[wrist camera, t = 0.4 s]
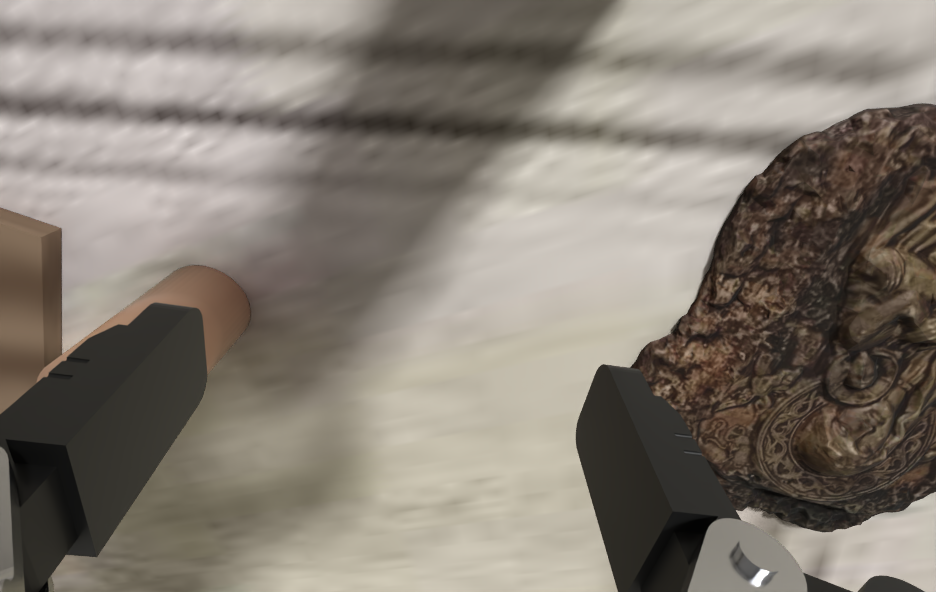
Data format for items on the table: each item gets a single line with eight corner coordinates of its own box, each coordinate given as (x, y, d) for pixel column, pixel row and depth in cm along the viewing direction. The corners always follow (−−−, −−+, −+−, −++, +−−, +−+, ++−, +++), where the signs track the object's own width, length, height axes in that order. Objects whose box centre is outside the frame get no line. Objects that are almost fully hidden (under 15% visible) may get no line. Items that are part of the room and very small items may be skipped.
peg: (167, 252, 30) (34, 341, 22) (257, 283, 31) (165, 381, 22) (159, 325, 33) (37, 431, 24) (243, 352, 34) (154, 465, 25)
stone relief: (1354, 261, 24) (887, 602, 37) (1232, 229, 28) (849, 548, 41) (915, 29, 20) (571, 500, 33) (846, 30, 24) (562, 451, 37)
